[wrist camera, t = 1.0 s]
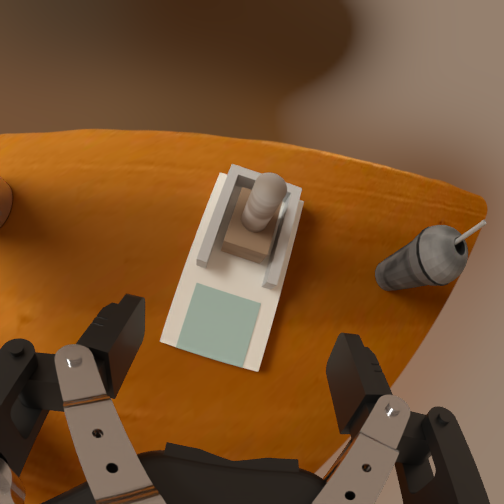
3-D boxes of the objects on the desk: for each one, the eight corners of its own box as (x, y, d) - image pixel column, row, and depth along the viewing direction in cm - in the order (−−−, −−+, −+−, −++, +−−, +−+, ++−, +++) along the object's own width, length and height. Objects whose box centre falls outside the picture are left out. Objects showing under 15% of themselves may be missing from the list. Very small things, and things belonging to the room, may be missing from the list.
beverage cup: (376, 306, 41) (483, 278, 22) (360, 258, 43) (457, 204, 24) (411, 291, 43) (513, 258, 24) (396, 247, 44) (490, 195, 25)
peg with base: (237, 201, 40) (255, 148, 28) (274, 213, 40) (304, 166, 29) (220, 250, 37) (232, 211, 26) (260, 263, 38) (288, 230, 26)
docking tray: (219, 177, 42) (222, 160, 38) (300, 205, 43) (311, 191, 39) (160, 341, 35) (156, 341, 31) (255, 370, 36) (263, 374, 32)
